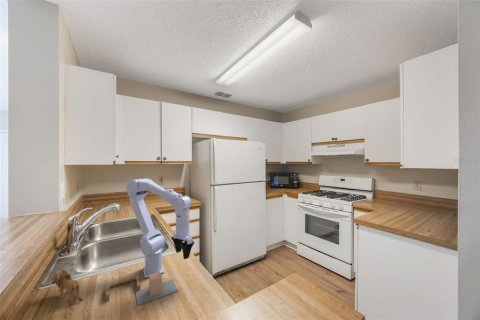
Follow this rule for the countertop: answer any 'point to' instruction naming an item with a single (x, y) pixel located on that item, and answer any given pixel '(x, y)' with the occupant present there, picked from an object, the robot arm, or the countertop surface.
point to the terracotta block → (155, 284)
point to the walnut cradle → (122, 284)
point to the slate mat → (145, 297)
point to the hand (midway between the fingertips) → (182, 255)
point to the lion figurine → (66, 285)
